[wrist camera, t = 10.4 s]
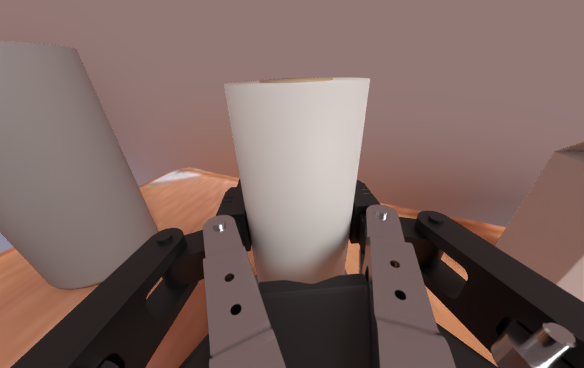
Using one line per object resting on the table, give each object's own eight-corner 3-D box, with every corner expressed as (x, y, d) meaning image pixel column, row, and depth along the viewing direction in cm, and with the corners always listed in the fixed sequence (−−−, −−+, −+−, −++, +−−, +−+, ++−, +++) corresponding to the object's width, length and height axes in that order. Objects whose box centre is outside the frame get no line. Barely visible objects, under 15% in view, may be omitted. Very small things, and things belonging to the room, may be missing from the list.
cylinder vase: (99, 225, 35) (-8, 53, 23) (173, 222, 36) (106, 50, 23) (18, 295, 24) (-267, 39, 12) (126, 289, 25) (-45, 34, 13)
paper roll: (262, 356, 12) (202, 86, 5) (265, 279, 16) (236, 79, 9) (347, 348, 12) (401, 78, 5) (328, 274, 16) (344, 75, 10)
